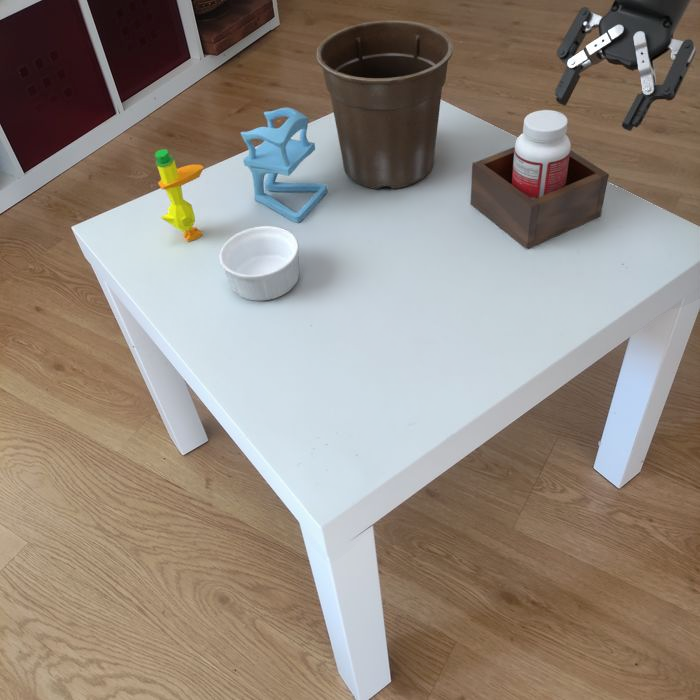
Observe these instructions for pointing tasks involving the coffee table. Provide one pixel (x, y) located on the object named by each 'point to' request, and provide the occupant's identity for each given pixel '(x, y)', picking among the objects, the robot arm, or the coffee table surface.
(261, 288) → the ramekin
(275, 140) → the chair
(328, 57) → the plant pot
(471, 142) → the coffee table surface
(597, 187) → the holder
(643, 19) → the robot arm
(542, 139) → the pill bottle
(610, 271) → the coffee table surface
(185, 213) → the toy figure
